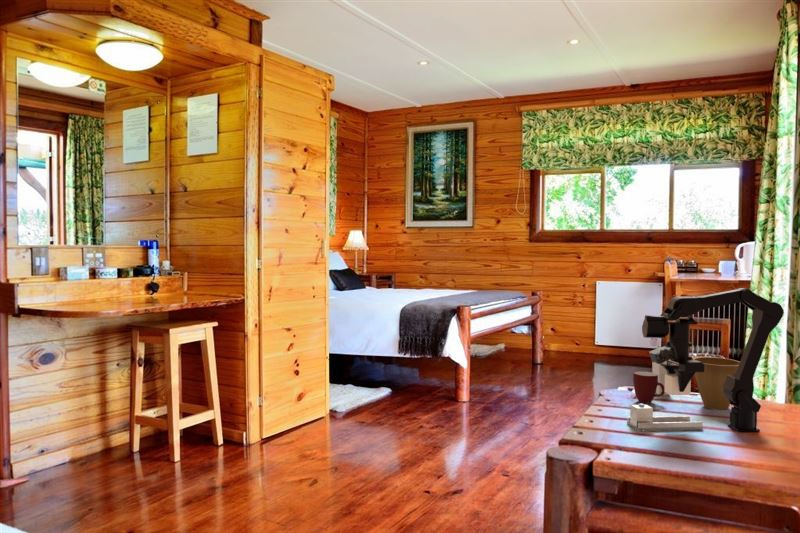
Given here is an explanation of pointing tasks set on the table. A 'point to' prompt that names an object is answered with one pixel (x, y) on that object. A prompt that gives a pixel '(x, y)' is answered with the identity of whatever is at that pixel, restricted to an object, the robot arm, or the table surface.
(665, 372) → the skincare box
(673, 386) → the block
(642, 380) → the mug
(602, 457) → the table surface
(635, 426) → the rail
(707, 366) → the plant pot
